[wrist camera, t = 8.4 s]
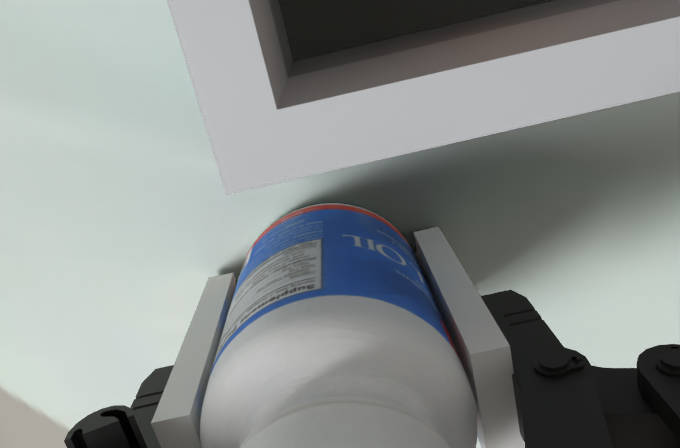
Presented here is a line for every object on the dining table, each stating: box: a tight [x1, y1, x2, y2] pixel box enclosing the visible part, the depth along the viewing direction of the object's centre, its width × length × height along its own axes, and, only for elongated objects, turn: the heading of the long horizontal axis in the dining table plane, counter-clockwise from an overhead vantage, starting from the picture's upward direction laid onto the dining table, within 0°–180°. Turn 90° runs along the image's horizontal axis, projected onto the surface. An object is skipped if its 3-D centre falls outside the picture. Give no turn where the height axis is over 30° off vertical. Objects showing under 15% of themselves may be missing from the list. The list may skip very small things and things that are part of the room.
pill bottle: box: [200, 203, 477, 448], centre depth 13 cm, size 6×5×10 cm
